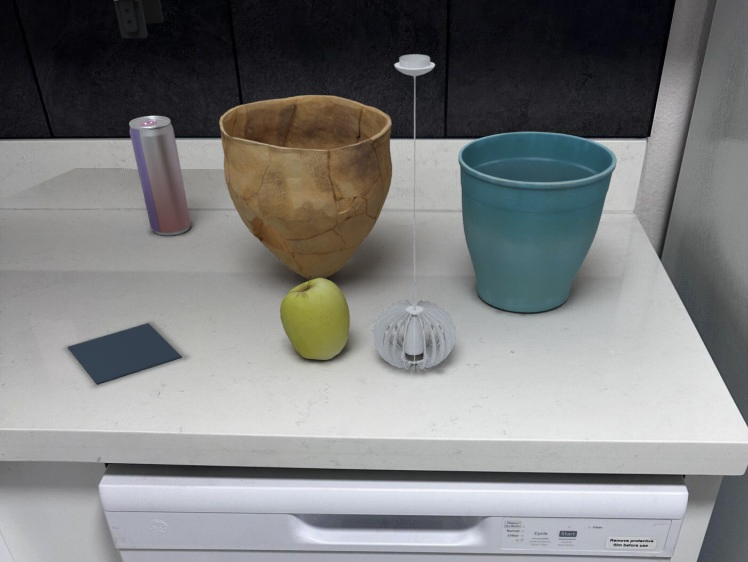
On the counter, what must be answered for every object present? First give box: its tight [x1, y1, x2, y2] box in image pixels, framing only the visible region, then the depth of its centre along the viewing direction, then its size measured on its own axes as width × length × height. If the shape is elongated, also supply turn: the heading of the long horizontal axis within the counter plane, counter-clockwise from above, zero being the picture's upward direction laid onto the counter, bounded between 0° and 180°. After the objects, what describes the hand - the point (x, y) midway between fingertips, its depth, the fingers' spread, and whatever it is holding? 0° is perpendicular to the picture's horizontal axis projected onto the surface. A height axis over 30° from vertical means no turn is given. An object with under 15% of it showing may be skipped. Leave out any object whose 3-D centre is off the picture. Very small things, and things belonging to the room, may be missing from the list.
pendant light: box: [372, 53, 457, 371], centre depth 80 cm, size 9×9×30 cm
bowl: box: [218, 94, 393, 281], centre depth 99 cm, size 21×20×20 cm
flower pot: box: [457, 131, 618, 313], centre depth 96 cm, size 18×18×17 cm
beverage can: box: [128, 115, 192, 237], centre depth 114 cm, size 6×6×15 cm
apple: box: [279, 276, 351, 361], centre depth 88 cm, size 8×8×10 cm
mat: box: [67, 322, 183, 385], centre depth 92 cm, size 10×10×1 cm
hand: (143, 30), depth 103 cm, fingers open, 9 cm apart
